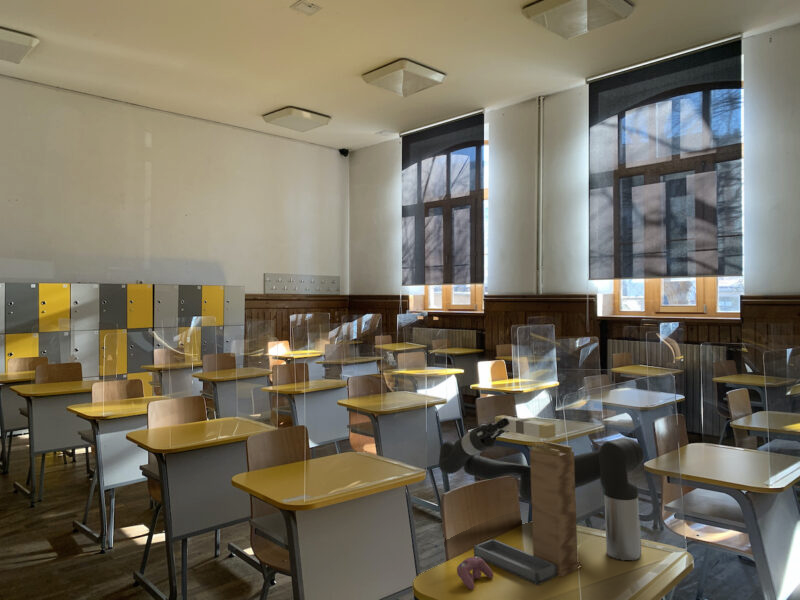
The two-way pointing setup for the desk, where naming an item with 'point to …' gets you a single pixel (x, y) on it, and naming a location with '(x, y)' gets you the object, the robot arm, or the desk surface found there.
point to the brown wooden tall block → (554, 506)
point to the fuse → (528, 427)
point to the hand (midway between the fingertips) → (512, 419)
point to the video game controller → (477, 566)
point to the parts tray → (516, 561)
